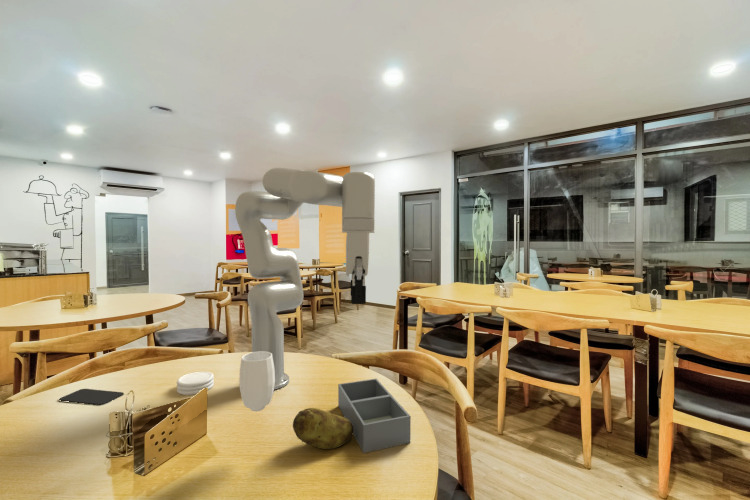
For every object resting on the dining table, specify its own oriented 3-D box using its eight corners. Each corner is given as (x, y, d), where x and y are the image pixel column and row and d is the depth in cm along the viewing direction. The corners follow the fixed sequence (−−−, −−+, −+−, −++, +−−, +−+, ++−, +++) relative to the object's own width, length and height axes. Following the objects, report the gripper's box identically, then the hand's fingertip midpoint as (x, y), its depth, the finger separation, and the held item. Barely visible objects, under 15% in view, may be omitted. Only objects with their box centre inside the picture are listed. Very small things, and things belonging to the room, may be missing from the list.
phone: (102, 404, 95) (56, 399, 98) (102, 407, 95) (56, 402, 98) (125, 392, 103) (82, 388, 105) (125, 395, 103) (82, 390, 105)
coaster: (215, 380, 113) (215, 369, 113) (211, 393, 104) (211, 381, 103) (180, 384, 110) (180, 373, 110) (173, 398, 100) (173, 386, 100)
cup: (262, 438, 80) (260, 348, 79) (283, 449, 76) (282, 354, 75) (233, 454, 74) (231, 357, 73) (254, 467, 70) (252, 364, 69)
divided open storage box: (338, 405, 95) (338, 384, 95) (376, 399, 99) (376, 378, 99) (363, 452, 75) (363, 425, 74) (410, 442, 78) (410, 416, 78)
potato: (350, 457, 73) (350, 419, 73) (289, 455, 74) (289, 418, 73) (354, 434, 81) (354, 401, 81) (299, 433, 82) (299, 399, 82)
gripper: (342, 227, 90) (342, 293, 91) (341, 225, 73) (341, 307, 74) (371, 227, 91) (371, 293, 91) (377, 226, 73) (376, 307, 74)
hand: (357, 299), depth 82 cm, fingers open, 9 cm apart
